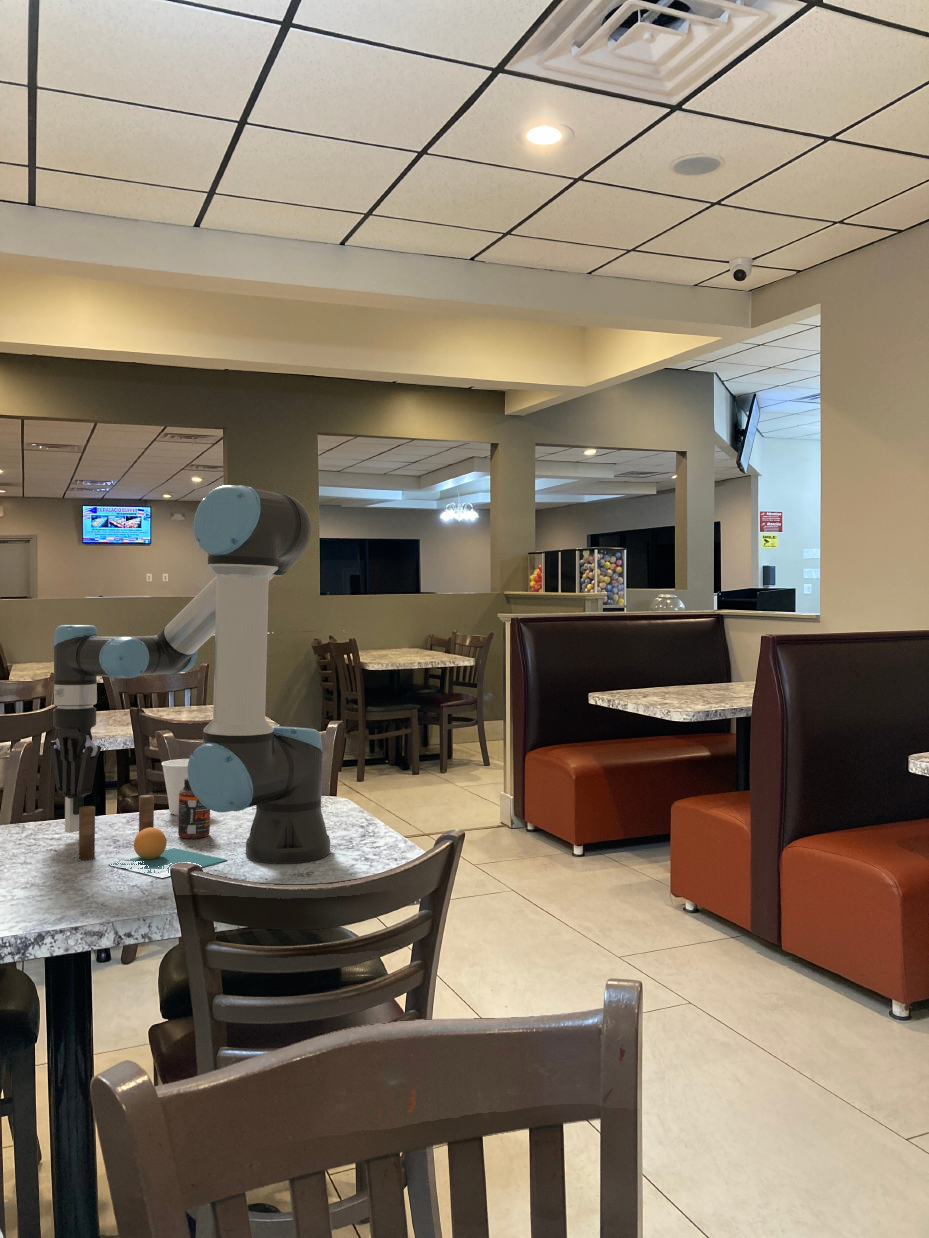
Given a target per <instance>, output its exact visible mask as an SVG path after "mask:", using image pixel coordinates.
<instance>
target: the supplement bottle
mask: <svg viewBox="0 0 929 1238" xmlns="http://www.w3.org/2000/svg"><path fill="white" fill-rule="evenodd" d="M184 785H185V786H184V788H183V789H182V790H181V791H180V793H179V815H178V819H177V820H178V828H177V834H178V837H180V838H182V839H187V840H190V839H191V840H195V839H203V838H206V837H208V836H209V835H210V830H211V810H210V809H208V808H206V807H205V806H204V805H202V804H201V802H200V801H199V799H198V797H196V796H195V795H194V793H193V792H192V790H191V787H190V784H189V781H188V777H187V778H185V782H184Z"/></svg>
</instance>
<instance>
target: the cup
mask: <svg viewBox="0 0 929 1238" xmlns="http://www.w3.org/2000/svg"><path fill="white" fill-rule="evenodd" d="M189 759H190V758H180V759H178V758H177V759H170V760H165V761H162V762H161V766H162V771H163V776H164V781H165V782H164V783H165V788H166V795H167V796H166V797H167V802H168V807H169V812H170V813H171V815H173V814H174V815H173V816H179V793H180V791H181V790H182V789H183V788H184V786H185V785H184V782H185V778H187V777H188V774H187V768H188V762H189Z"/></svg>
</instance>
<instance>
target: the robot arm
mask: <svg viewBox="0 0 929 1238" xmlns="http://www.w3.org/2000/svg"><path fill="white" fill-rule="evenodd" d="M312 530H313V527H312V521H311V517H310V515H309V513H308V511H307V509H306V507H304V505H303V504H302V503H301V502H300V501H299V500H298V499H296V498H295V497H293V496H291V495H289V494H285V493H282V492H281V493H280V492H274V491H270V490H269V491H268V490H264V489H261V488H260V489H259V488H256V487H251V486H248V485H232V484H226V485H221V486H218V487H216V488H213V489H212V490H211V491H209V492H207V495H206V496H205V497H204V498H203V499H201V501H200V503H199V504H198V506H197V508H196V511H195V514H194V518H193V534H194V539H195V541H196V542H198V545H199V547H200V549H202V550H203V551H204V552H205V553H207V567H208V568H209V569H210V571H212V573H214V575H215V576H214V577H213V578H212V579H211V580H210V581H209V582H208V583H207V584H206V585H205V586H204V587H203V588H202V589H201V591H199V592H198V593H197V594H196V596H194V598H192V599H191V600H190V602H188V604H187V605H185V606H184V608H182V609H181V610H180V612H179V613H177V615H175V616H174V618H173V619H172V620H171V621H169V622H168V623H167V625H166V626H164V627H163V628H162V629H161V630H160V631H159V632H158V633H157V634H156V635H142V636H141V635H139V636H137V635H136V636H132V635H131V636H130V635H129V636H127V635H126V636H125V635H124V636H121V635H120V636H99V634H98V628H97V626H95V625H91V624H90V625H89V624H61V625H58V626H57V627H56V628H55V631H54V641H53V646H52V647H53V648H52V649H53V685H54V688H53V704H54V706H57V707H55V708H54V709H53V711H52V712H53V713H52V714H53V716H52V719H53V720H52V722H53V723H52V725H53V727H54V728H56V729H58V732H57V738H56V739H55V740H49V742H48V747H49V749H50V752H51V757H52V764H53V772H54V778H55V787H56V791H57V793H61V794H62V796H63V797H64V832H65V833H69V834H72V833H76V832H79V808H80V807H83V806H85V805H84V803H85V802H84V801H85V800H84V799H85V797H86V796H88V795H91V794H92V793H93V787H94V786H93V785H94V781H95V776H96V770H97V763H98V758H99V755H100V752H101V751H102V746H101V745H100V744H98V745H97V744H95V743H94V742H93V734H92V730H91V729H92V728H94V727H96V725H97V708H96V706H94V705H96V704H97V703H98V702H97V701H98V691H97V688H98V687H97V686H98V685H97V683H98V680H97V677H104V678H114V679H120V680H122V679H132V678H137V677H139V676H150V675H176V674H180V673H184V672H187V671H189V670H191V669H192V668H193V667H194V666H195V664H196V661H197V659H198V653H199V651H198V650H199V649H200V648H201V647H202V646H203V645H204V644H205V643H206V642H207V641H208V640H209V639H210V638H212V637H213V636H214V663H213V664H214V669H213V703H212V704H213V706H212V708H213V710H212V720H211V721H210V722H209V723H208V724H207V725H205V727H204V728H203V731H202V732H203V734H202V744H201V745H199V746H198V747H197V748H196V749H195V750H194V751H193V754H190V756H189V758H188V759H189V762H188V768H187V774H188V781H189V784H190V787H191V790H192V792H193V793H194V795H195V796H196V797H198V799H199V801H200V802H201V804H202V805H204V806H205V807H206V808H208V809H210V811H213V812H215V813H229V812H240V811H244V810H246V809H248V808H251V807H255V814H254V817H253V821H252V823H251V827H250V831H249V836H248V837H247V838H246V842H245V856H246V858H248V859H250V860H253V861H256V862H260V863H268V864H296V863H305V862H306V863H307V862H312V861H316V860H319V859H322V858H326V856H328V855H329V854H330V853H331V838H330V836H329V834H328V832H327V827H326V823H325V820H324V816H323V812H322V776H323V775H322V774H323V773H322V771H323V770H322V769H323V766H322V765H323V753H324V749H323V744H322V741H323V740H322V734H321V733H320V732H319V731H318V730H317V729H314V728H307V727H295V726H281V725H280V726H279V725H278V726H277V725H271V724H270V723H269V722H268V721H267V719H266V703H267V701H266V699H267V696H266V695H267V660H268V659H267V657H268V623H269V618H268V617H269V588H270V587H269V586H270V585H269V584H270V583H269V582H270V581H271V580H272V579H273V578H275V577H282V576H284V575H285V574H286V573H287V572H288V571H290V570H291V569H292V568H293V567H294V565H296V564H297V563H298V561H299V560H300V559H301V558H302V557H303V555H304V554H305V553H306V551H307V549H308V547H309V545H310V542H311V538H312V534H313V533H312Z"/></svg>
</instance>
